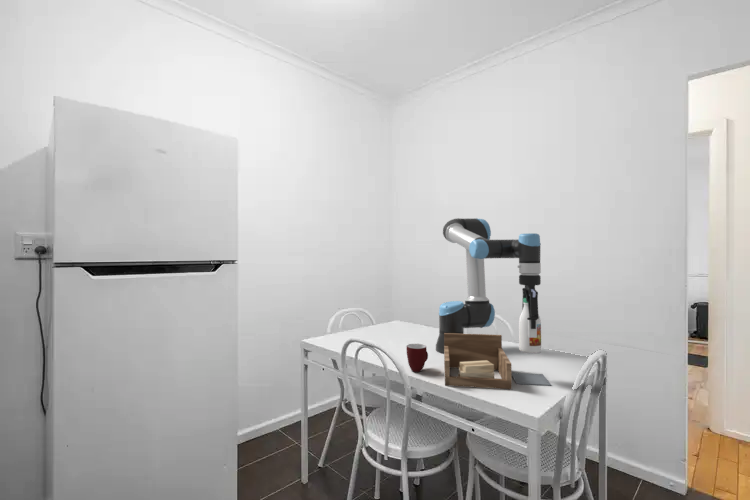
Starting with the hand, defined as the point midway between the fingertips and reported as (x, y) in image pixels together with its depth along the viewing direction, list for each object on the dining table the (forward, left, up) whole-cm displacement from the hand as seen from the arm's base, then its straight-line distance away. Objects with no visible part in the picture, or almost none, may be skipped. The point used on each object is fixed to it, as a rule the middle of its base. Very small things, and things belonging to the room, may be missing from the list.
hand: (530, 334), depth 142 cm
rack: (-11, -17, -17) cm, 26 cm away
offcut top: (-7, -20, -12) cm, 24 cm away
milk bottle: (0, 0, -6) cm, 6 cm away
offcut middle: (-7, -20, -15) cm, 26 cm away
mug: (-28, -32, -17) cm, 46 cm away
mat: (0, 0, -17) cm, 17 cm away
